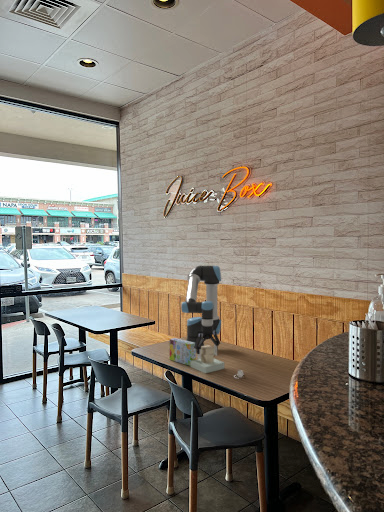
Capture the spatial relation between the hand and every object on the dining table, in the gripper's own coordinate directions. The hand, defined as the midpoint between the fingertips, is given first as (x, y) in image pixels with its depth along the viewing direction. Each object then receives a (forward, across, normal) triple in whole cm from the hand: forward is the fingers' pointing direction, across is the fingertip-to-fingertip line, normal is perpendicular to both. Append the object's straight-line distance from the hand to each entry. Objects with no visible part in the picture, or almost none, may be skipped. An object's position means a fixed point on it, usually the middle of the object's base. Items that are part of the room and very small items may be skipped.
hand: (207, 356), depth 261 cm
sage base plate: (+7, 0, 0) cm, 7 cm away
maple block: (+3, 0, 0) cm, 3 cm away
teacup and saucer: (+8, +9, -26) cm, 29 cm away
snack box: (+8, -7, +19) cm, 22 cm away
